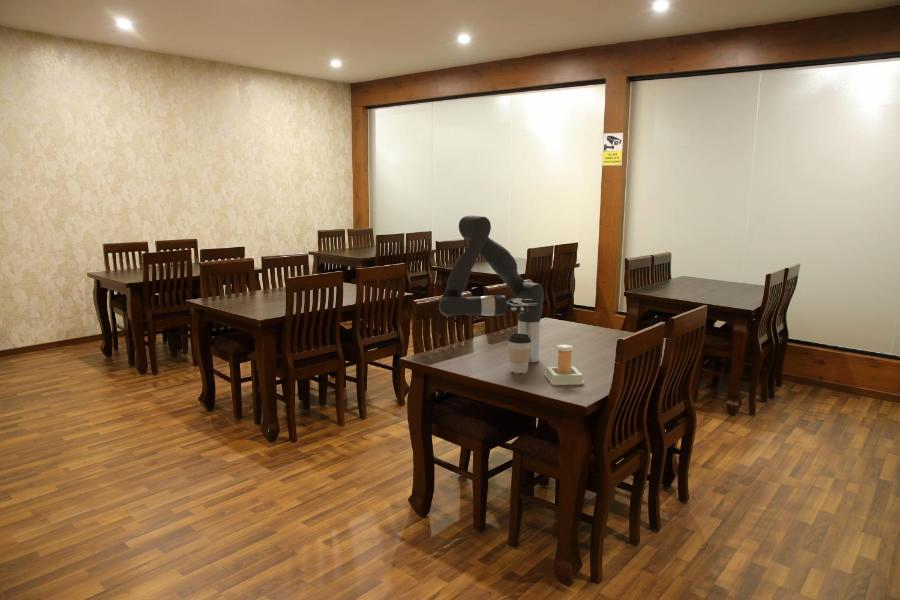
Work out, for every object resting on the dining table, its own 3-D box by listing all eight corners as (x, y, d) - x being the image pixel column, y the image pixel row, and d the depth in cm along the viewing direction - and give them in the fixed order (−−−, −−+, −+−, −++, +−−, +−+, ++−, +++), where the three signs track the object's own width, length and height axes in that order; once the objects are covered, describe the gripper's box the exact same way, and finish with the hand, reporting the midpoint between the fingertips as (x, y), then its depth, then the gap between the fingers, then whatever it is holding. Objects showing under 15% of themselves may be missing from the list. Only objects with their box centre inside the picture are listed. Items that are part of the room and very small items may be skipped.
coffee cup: (528, 367, 243) (529, 331, 240) (532, 374, 234) (533, 337, 231) (506, 367, 243) (507, 331, 240) (509, 374, 234) (510, 337, 231)
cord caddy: (544, 375, 233) (544, 366, 233) (574, 374, 234) (575, 366, 234) (552, 384, 221) (552, 375, 221) (583, 384, 222) (584, 375, 222)
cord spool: (554, 374, 230) (555, 344, 228) (569, 374, 231) (570, 344, 229) (557, 379, 224) (559, 348, 222) (573, 379, 225) (575, 348, 223)
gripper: (495, 299, 215) (540, 298, 216) (489, 292, 229) (531, 291, 230) (495, 319, 217) (539, 318, 218) (489, 311, 231) (531, 310, 232)
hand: (535, 304), depth 224 cm, fingers open, 8 cm apart
